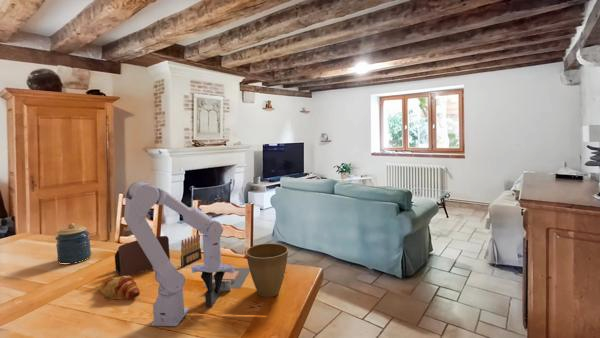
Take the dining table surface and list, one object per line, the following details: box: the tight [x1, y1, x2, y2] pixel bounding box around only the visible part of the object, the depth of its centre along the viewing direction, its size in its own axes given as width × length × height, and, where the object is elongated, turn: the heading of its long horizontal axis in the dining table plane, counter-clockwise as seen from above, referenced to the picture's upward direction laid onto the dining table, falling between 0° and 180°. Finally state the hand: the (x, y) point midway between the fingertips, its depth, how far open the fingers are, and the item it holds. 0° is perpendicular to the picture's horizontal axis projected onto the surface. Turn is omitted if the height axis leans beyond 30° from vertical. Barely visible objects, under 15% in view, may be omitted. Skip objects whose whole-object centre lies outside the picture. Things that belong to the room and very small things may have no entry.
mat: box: [203, 267, 250, 290], centre depth 127 cm, size 18×14×1 cm
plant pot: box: [245, 242, 289, 298], centre depth 114 cm, size 15×15×16 cm
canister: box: [55, 222, 92, 264], centre depth 149 cm, size 13×13×18 cm
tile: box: [222, 271, 239, 283], centre depth 126 cm, size 2×7×7 cm
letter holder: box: [114, 235, 171, 277], centre depth 139 cm, size 10×20×14 cm, turn 131°
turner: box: [204, 280, 232, 308], centre depth 111 cm, size 12×8×5 cm
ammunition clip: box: [180, 233, 202, 268], centre depth 143 cm, size 11×2×12 cm, turn 153°
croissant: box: [100, 275, 141, 300], centre depth 116 cm, size 21×10×8 cm
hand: (214, 291), depth 110 cm, fingers closed on turner
